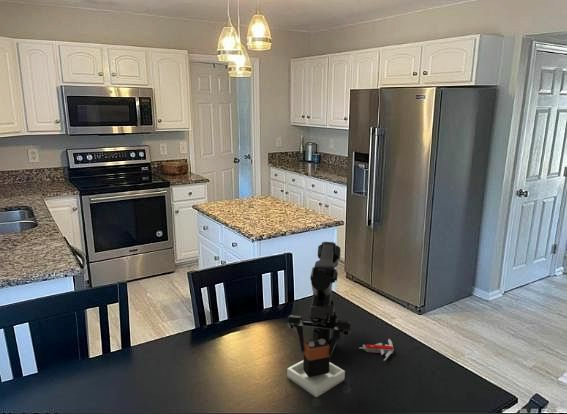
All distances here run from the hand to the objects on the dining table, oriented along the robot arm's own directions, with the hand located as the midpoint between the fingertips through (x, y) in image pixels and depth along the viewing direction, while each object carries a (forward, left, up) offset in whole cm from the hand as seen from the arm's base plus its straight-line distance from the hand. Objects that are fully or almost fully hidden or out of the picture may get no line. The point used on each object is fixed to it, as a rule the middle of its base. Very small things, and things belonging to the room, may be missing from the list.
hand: (316, 354), depth 120 cm
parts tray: (-1, -1, -9) cm, 9 cm away
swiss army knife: (-27, +2, -9) cm, 29 cm away
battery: (-1, -1, -7) cm, 7 cm away
